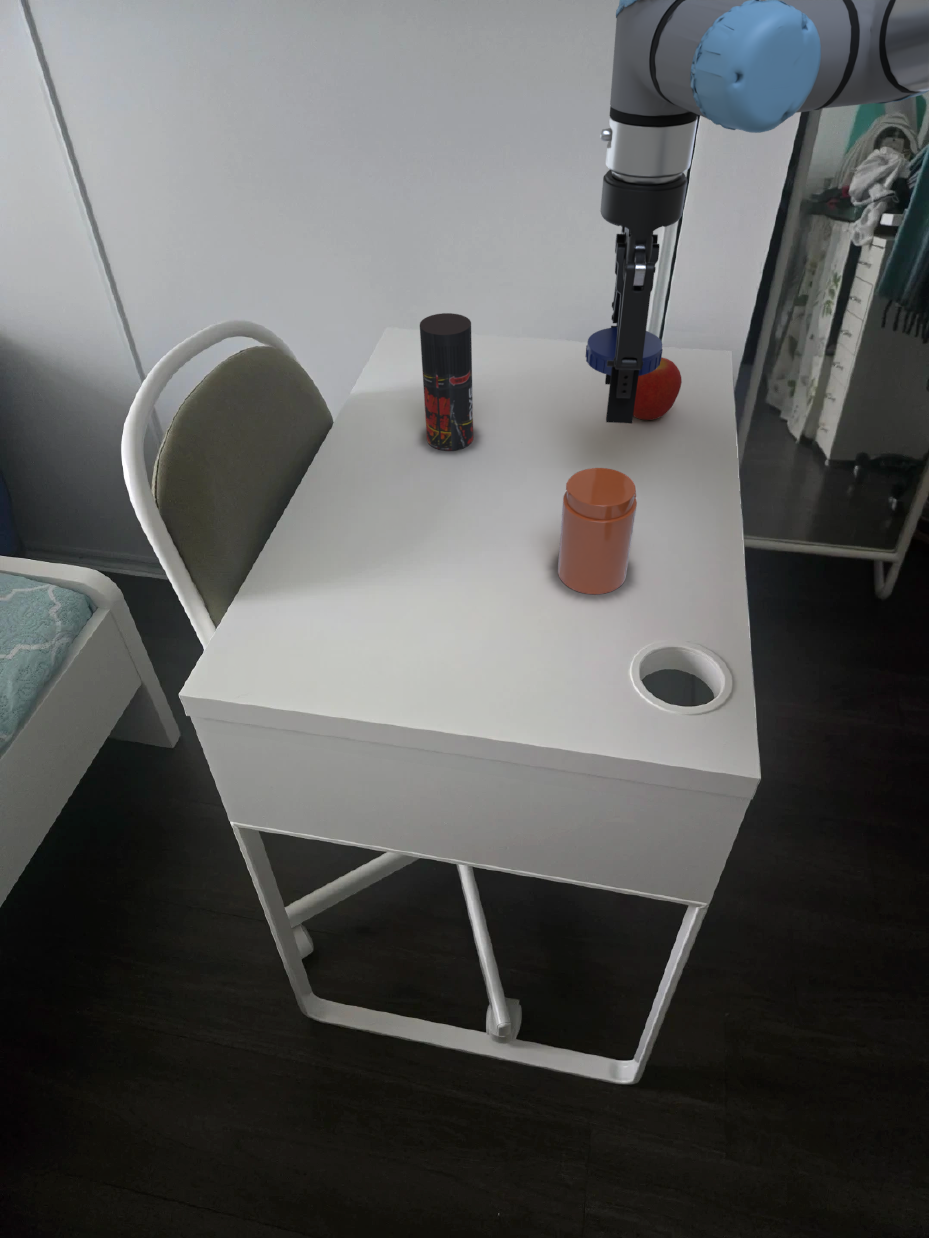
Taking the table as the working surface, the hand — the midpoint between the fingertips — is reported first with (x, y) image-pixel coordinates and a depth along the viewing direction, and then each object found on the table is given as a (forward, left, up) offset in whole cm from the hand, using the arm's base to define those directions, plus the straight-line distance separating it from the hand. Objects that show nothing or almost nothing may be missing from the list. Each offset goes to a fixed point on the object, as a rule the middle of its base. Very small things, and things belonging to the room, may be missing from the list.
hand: (618, 401), depth 89 cm
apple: (-5, -16, -10) cm, 20 cm away
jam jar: (+2, +17, -10) cm, 20 cm away
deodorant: (+20, -8, -10) cm, 24 cm away
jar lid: (0, 0, +6) cm, 6 cm away
